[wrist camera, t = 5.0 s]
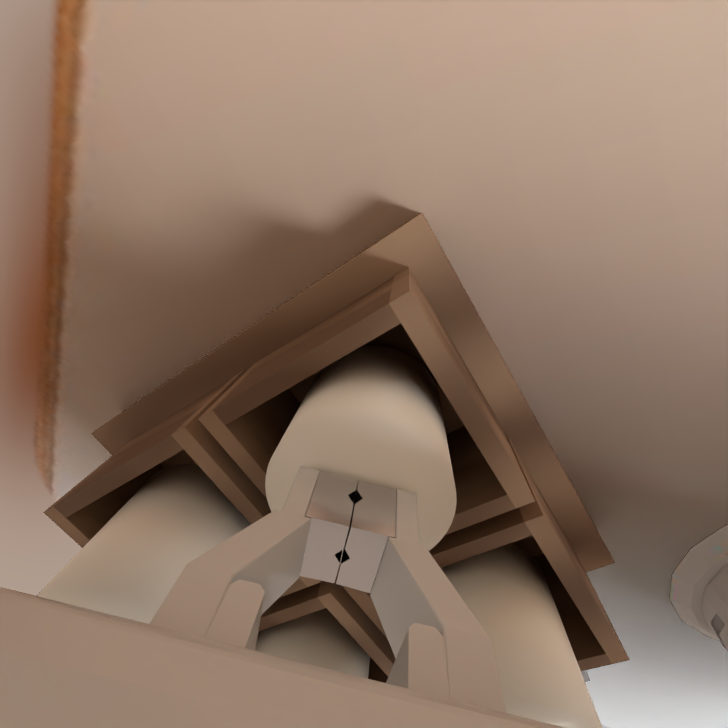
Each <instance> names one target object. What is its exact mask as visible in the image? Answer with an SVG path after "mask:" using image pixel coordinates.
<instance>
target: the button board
mask: <svg viewBox="0 0 728 728" xmlns="http://www.w3.org/2000/svg"><path fill="white" fill-rule="evenodd" d="M361 346H383V347H389V348H393V349H396V350H399V351H401V352H403V353H405V354H407V355H409V356H411V357H412V358H414V359H415V360H416V361H418V362H419V363H420V364H421V365H422V366H423V367H424V368H425V369H426V370H427V371H428V373H429V374H430V375H431V377H432V378H433V380H434V382H435V384H436V387H437V390H438V393H439V398H440V403H441V409H442V414H443V420H444V426H445V431H446V437H447V443H448V448H449V454H450V460H451V465H452V471H453V476H454V482H455V488H456V499H457V503H456V510H455V515H454V518H453V521H452V523H451V525H450V527H449V529H448V531H447V533H446V534H445V535H444V537H443V538H442V539H441V540H440V542H439V543H438V544H437V545H436V546H435V547H433V548H432V549H431V550H429V552H430V554H431V555H432V557H433V558H434V560H435V561H436V562H437V564H438V565H439V567H440V568H441V567H444V566H447V565H450V564H452V563H455V562H458V561H461V560H464V559H467V558H470V557H472V556H475V555H478V554H481V553H484V552H487V551H490V550H492V549H495V548H498V547H501V546H504V545H507V544H509V543H512V544H514V545H516V546H518V547H520V548H522V549H523V550H525V551H526V552H528V553H529V554H530V555H531V556H532V557H533V558H534V559H535V560H536V561H537V562H538V564H539V565H540V567H541V569H542V571H543V573H544V576H545V579H546V581H547V584H548V587H549V589H550V592H551V594H552V597H553V600H554V602H555V605H556V608H557V610H558V613H559V615H560V618H561V621H562V623H563V626H564V629H565V631H566V634H567V637H568V639H569V642H570V644H571V647H572V650H573V652H574V655H575V658H576V660H577V663H578V665H579V668H580V671H584V670H588V669H592V668H597V667H601V666H605V665H610V664H614V663H618V662H622V661H627V660H629V658H628V656H627V654H626V652H625V650H624V648H623V646H622V644H621V642H620V640H619V638H618V636H617V634H616V632H615V630H614V628H613V626H612V624H611V622H610V620H609V618H608V616H607V614H606V612H605V610H604V608H603V606H602V604H601V602H600V600H599V598H598V596H597V594H596V592H595V590H594V588H593V586H592V584H591V582H590V580H589V578H588V576H587V574H586V572H587V571H591V570H594V569H597V568H600V567H604V566H607V565H610V564H613V563H615V562H614V560H613V558H612V556H611V555H610V553H609V551H608V549H607V547H606V545H605V544H604V542H603V540H602V538H601V536H600V535H599V533H598V531H597V529H596V527H595V525H594V524H593V522H592V520H591V518H590V516H589V515H588V513H587V511H586V509H585V507H584V505H583V504H582V502H581V500H580V498H579V496H578V495H577V493H576V491H575V489H574V487H573V486H572V484H571V482H570V480H569V478H568V476H567V475H566V473H565V471H564V469H563V467H562V466H561V464H560V462H559V460H558V458H557V456H556V455H555V453H554V451H553V449H552V447H551V446H550V444H549V442H548V440H547V438H546V436H545V435H544V433H543V431H542V429H541V427H540V426H539V424H538V422H537V420H536V418H535V416H534V415H533V413H532V411H531V409H530V407H529V406H528V404H527V402H526V400H525V398H524V397H523V395H522V393H521V391H520V389H519V387H518V386H517V384H516V382H515V380H514V378H513V377H512V375H511V373H510V371H509V369H508V367H507V366H506V364H505V362H504V360H503V358H502V357H501V355H500V353H499V351H498V349H497V347H496V346H495V344H494V342H493V340H492V338H491V337H490V335H489V333H488V331H487V329H486V327H485V326H484V324H483V322H482V320H481V318H480V317H479V315H478V313H477V311H476V309H475V308H474V306H473V304H472V302H471V300H470V298H469V297H468V295H467V293H466V291H465V289H464V288H463V286H462V284H461V282H460V280H459V278H458V277H457V275H456V273H455V271H454V269H453V268H452V266H451V264H450V262H449V260H448V258H447V257H446V255H445V253H444V251H443V249H442V248H441V246H440V244H439V242H438V240H437V239H436V237H435V235H434V233H433V231H432V229H431V228H430V226H429V224H428V222H427V220H426V219H425V217H424V215H423V213H420V214H419V215H417V216H416V217H414V218H413V219H411V220H410V221H408V222H407V223H405V224H404V225H402V226H401V227H399V228H398V229H396V230H395V231H393V232H392V233H390V234H389V235H387V236H386V237H384V238H383V239H381V240H380V241H378V242H377V243H375V244H374V245H372V246H371V247H369V248H368V249H366V250H365V251H363V252H362V253H360V254H359V255H357V256H356V257H354V258H353V259H351V260H350V261H348V262H347V263H345V264H344V265H342V266H341V267H339V268H338V269H336V270H335V271H333V272H332V273H330V274H329V275H327V276H326V277H324V278H323V279H321V280H320V281H318V282H317V283H315V284H314V285H312V286H311V287H309V288H308V289H306V290H305V291H303V292H302V293H300V294H299V295H297V296H296V297H294V298H293V299H291V300H290V301H288V302H287V303H285V304H284V305H282V306H281V307H279V308H278V309H276V310H275V311H273V312H272V313H270V314H269V315H267V316H266V317H264V318H263V319H261V320H260V321H258V322H257V323H255V324H254V325H252V326H251V327H249V328H248V329H246V330H245V331H243V332H242V333H240V334H239V335H237V336H236V337H234V338H233V339H231V340H230V341H228V342H227V343H225V344H224V345H222V346H221V347H219V348H218V349H216V350H215V351H213V352H212V353H210V354H209V355H207V356H206V357H204V358H203V359H201V360H200V361H198V362H197V363H195V364H194V365H192V366H191V367H189V368H188V369H186V370H185V371H183V372H182V373H180V374H179V375H177V376H176V377H174V378H173V379H171V380H170V381H168V382H167V383H165V384H164V385H162V386H161V387H159V388H158V389H156V390H155V391H153V392H152V393H150V394H149V395H147V396H146V397H144V398H143V399H141V400H140V401H138V402H137V403H135V404H134V405H132V406H131V407H129V408H128V409H126V410H125V411H123V412H122V413H120V414H119V415H117V416H116V417H115V418H113V419H112V420H110V421H109V422H107V423H106V424H104V425H103V426H102V427H100V428H99V429H97V430H96V431H94V432H93V433H92V435H93V436H94V437H95V438H96V439H97V440H98V441H99V442H100V443H101V444H102V445H103V446H104V447H105V448H106V449H107V450H108V451H109V452H110V453H111V454H112V455H113V456H112V457H110V458H109V459H108V460H107V461H105V462H104V463H103V464H102V465H101V466H99V467H98V468H97V469H96V470H94V471H93V472H92V473H91V474H90V475H88V476H87V477H86V478H85V479H84V480H82V481H81V482H80V483H79V484H77V485H76V486H75V487H74V488H73V489H71V490H70V491H69V492H68V493H66V494H65V495H64V496H63V497H62V498H60V499H59V500H58V501H57V502H55V503H54V504H53V505H52V506H51V507H50V508H48V509H47V510H46V511H45V512H44V513H45V514H46V515H47V516H48V517H49V518H51V519H52V521H54V522H55V523H56V524H57V525H58V526H59V527H60V528H61V529H62V530H63V531H64V532H66V533H67V534H68V535H69V536H70V537H71V538H72V539H73V540H74V541H75V542H77V543H78V544H79V545H80V546H81V547H82V548H83V547H84V546H85V545H86V544H87V543H88V542H89V541H90V540H91V539H92V538H93V537H94V536H95V535H96V534H97V533H98V532H99V531H100V530H101V529H102V528H103V527H104V525H105V524H106V523H107V522H108V521H109V520H110V519H111V518H112V517H113V516H114V515H115V514H116V513H117V512H118V511H119V510H120V509H121V508H122V507H123V506H124V505H125V504H126V503H127V502H128V501H129V500H130V499H131V498H132V497H133V496H134V495H135V494H136V493H137V491H138V490H139V489H140V488H141V487H142V486H143V485H144V484H145V483H146V482H147V481H148V480H149V479H150V478H151V477H152V476H153V475H154V474H156V473H157V472H159V471H160V470H162V469H164V468H167V467H170V466H175V465H185V464H189V465H198V466H199V467H200V468H201V469H202V470H203V471H204V472H205V473H206V475H207V476H208V477H209V478H210V479H211V480H212V481H213V482H214V483H215V485H216V486H217V487H218V488H219V489H220V490H221V491H222V492H223V493H224V495H225V496H226V497H227V498H228V499H229V500H230V501H231V502H232V503H233V505H234V506H235V507H236V508H237V509H238V510H239V511H240V512H241V514H242V515H243V516H244V517H245V518H246V519H247V520H248V521H249V522H250V524H253V523H255V522H256V521H258V520H259V519H261V518H263V517H264V516H266V515H268V514H269V513H271V510H270V507H269V505H268V501H267V497H266V489H265V479H266V472H267V468H268V465H269V462H270V460H271V457H272V455H273V454H274V452H275V450H276V448H277V446H278V445H279V443H280V441H281V439H282V437H283V436H284V434H285V432H286V430H287V428H288V427H289V425H290V423H291V421H292V419H293V418H294V416H295V414H296V412H297V410H298V409H299V407H300V405H301V403H302V401H303V400H304V398H305V396H306V394H307V392H308V391H309V389H310V387H311V385H312V384H313V382H314V380H315V378H316V376H317V375H318V373H319V371H320V370H321V369H323V368H325V367H326V366H328V365H330V364H332V363H333V362H335V361H337V360H338V359H340V358H342V357H344V356H345V355H347V354H349V353H351V352H352V351H354V350H356V349H357V348H359V347H361ZM338 569H339V568H338ZM337 575H338V572H337ZM337 575H336V579H335V583H330V582H326V581H321V580H316V579H312V578H307V577H302V576H299V579H298V580H297V581H295V582H294V583H293V584H292V585H291V586H290V587H289V588H288V589H287V590H286V591H285V592H284V593H283V594H282V595H281V596H280V597H279V598H278V599H277V600H276V601H275V602H274V603H273V604H272V605H271V606H270V607H269V608H268V609H267V610H266V611H265V612H264V613H263V614H262V615H261V619H260V625H259V631H258V637H257V641H258V638H259V635H260V632H261V631H262V630H264V629H267V628H270V627H273V626H276V625H279V624H281V623H284V622H287V621H290V620H293V619H296V618H299V617H301V616H304V615H307V614H310V613H313V612H316V611H319V610H321V609H324V608H327V609H328V610H329V611H330V612H331V614H332V615H333V616H334V617H335V618H336V619H337V620H338V621H339V623H340V624H341V625H342V626H343V627H344V628H345V629H346V630H347V631H348V633H349V634H350V635H351V636H352V637H353V638H354V639H355V640H356V641H357V643H358V644H359V645H360V646H361V647H362V648H363V649H364V650H365V651H366V653H367V654H368V655H369V656H370V663H369V675H368V679H371V680H375V681H379V682H383V683H386V681H387V679H388V677H389V674H390V672H391V669H392V667H393V665H394V662H395V660H396V659H395V656H394V654H393V651H392V649H391V646H390V644H389V641H388V639H387V636H386V634H385V631H384V629H383V626H382V624H381V621H380V619H379V616H378V614H377V611H376V609H375V606H374V604H373V601H372V599H371V596H370V594H371V593H367V592H364V591H360V590H357V589H353V588H349V587H346V586H342V585H338V584H336V580H337ZM256 644H257V643H256Z"/></svg>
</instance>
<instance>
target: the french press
mask: <svg viewBox="0 0 728 728" xmlns="http://www.w3.org/2000/svg"><path fill="white" fill-rule="evenodd" d="M670 601H671V603H672V605H673V606H674V608H675V610H676V612H677V613H678V615H679V617H680V619H681V620H682V621H683V622H685V623H686V624H688V625H690V626H691V627H693V628H694V629H696V630H698V631H699V632H701V633H702V634H704V635H706V636H708V637H711V638H713V639H716V640H719V641H720V642H721V643H722V645H723V646H724V647H725V648H726V649H727V650H728V525H726V526H724V527H722V528H721V529H719V530H718V531H716V532H715V533H713V534H712V535H710V536H709V537H707V538H706V539H704V540H703V541H701V542H700V543H698V544H697V545H695V546H694V547H692V548H691V549H690V550H689V552H688V553H687V554H686V556H685V557H684V558H683V560H682V561H681V563H680V564H679V565H678V567H677V568H676V569H675V571H674V572H673V574H672V580H671V589H670Z"/></svg>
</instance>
